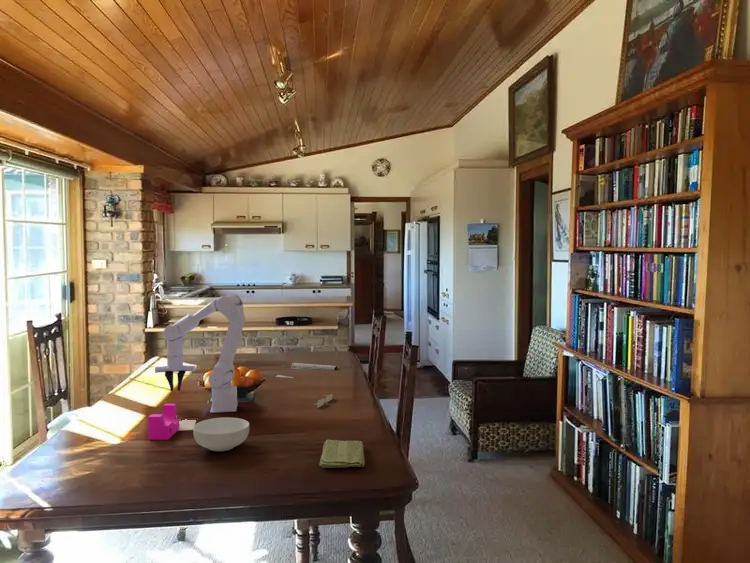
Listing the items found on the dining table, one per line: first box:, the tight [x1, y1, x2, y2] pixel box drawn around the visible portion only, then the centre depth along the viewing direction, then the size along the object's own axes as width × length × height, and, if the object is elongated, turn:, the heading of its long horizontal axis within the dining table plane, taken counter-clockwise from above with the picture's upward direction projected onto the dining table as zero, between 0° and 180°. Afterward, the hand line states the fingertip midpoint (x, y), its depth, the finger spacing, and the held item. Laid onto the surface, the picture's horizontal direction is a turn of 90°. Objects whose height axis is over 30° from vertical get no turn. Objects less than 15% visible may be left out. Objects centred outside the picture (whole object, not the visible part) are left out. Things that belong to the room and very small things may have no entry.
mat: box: [275, 362, 338, 379], centre depth 270 cm, size 23×24×5 cm
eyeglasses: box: [300, 394, 334, 409], centre depth 223 cm, size 14×8×4 cm, turn 158°
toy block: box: [147, 403, 179, 441], centre depth 189 cm, size 15×6×8 cm, turn 0°
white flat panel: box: [177, 419, 197, 432], centre depth 200 cm, size 14×20×1 cm
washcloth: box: [319, 439, 366, 469], centre depth 167 cm, size 13×18×3 cm
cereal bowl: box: [192, 416, 250, 452], centre depth 175 cm, size 17×17×7 cm
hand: (175, 390), depth 217 cm, fingers closed
